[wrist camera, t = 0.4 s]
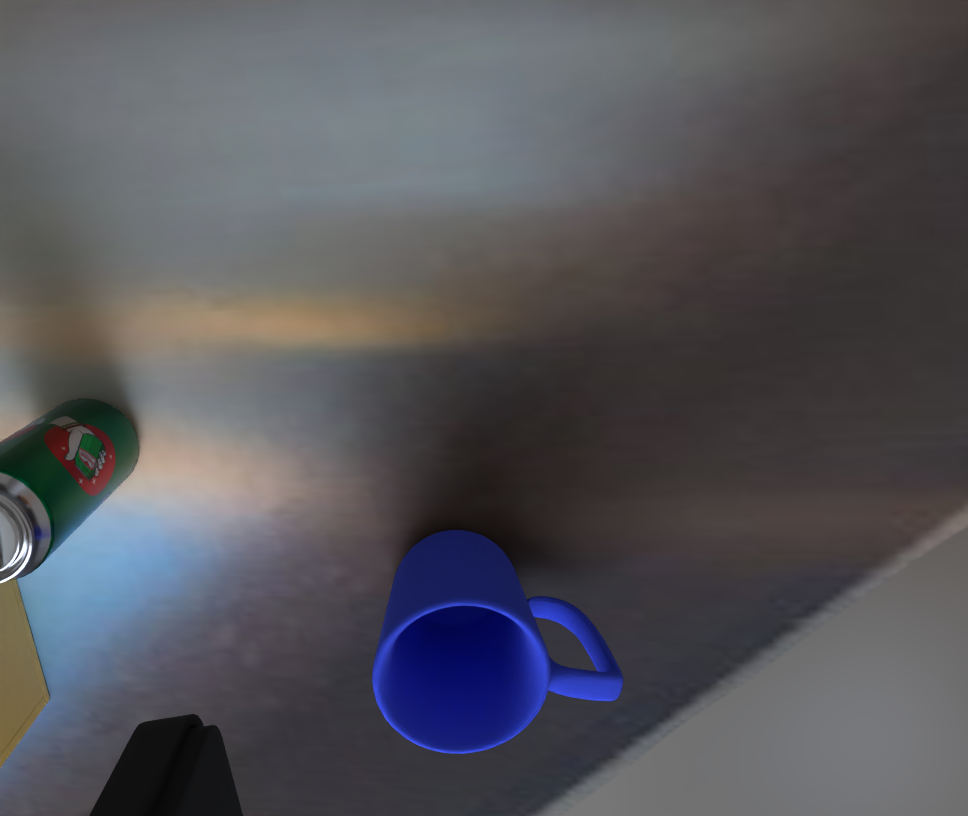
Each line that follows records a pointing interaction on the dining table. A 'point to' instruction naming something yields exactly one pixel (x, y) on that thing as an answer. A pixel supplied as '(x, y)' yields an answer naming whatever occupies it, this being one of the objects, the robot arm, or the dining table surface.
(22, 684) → the bin
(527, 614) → the mug
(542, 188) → the dining table surface
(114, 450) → the soda can
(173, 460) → the dining table surface
